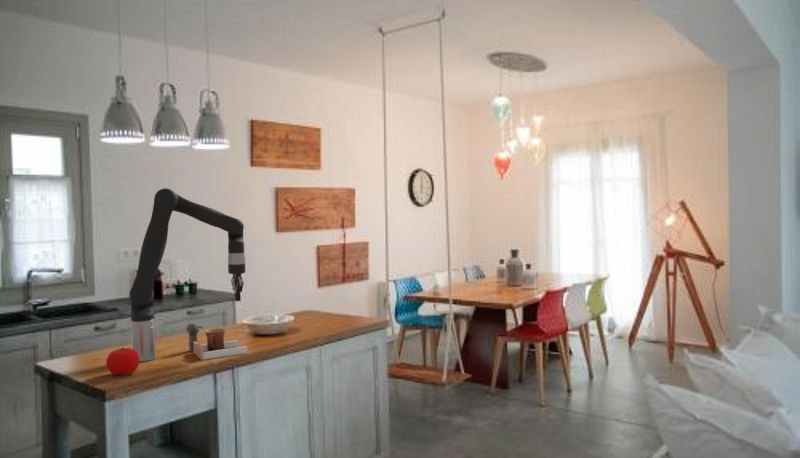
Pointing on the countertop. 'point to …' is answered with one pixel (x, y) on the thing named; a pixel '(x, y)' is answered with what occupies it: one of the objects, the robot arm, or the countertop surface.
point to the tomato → (122, 361)
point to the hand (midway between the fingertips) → (237, 300)
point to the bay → (203, 355)
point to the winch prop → (192, 334)
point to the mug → (215, 339)
